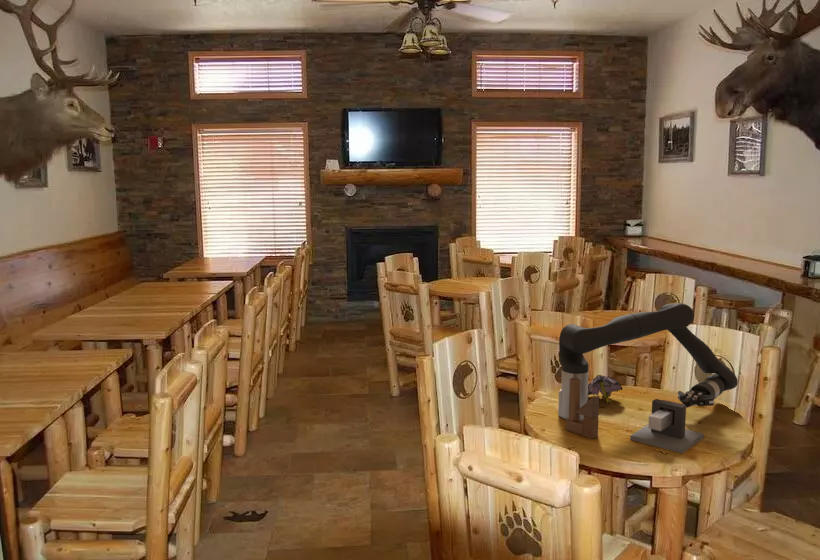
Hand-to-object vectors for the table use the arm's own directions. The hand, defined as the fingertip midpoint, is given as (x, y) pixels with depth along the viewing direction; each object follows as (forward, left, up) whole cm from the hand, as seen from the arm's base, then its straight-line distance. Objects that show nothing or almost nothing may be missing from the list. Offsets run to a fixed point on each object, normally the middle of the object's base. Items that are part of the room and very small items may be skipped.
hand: (685, 404), depth 231 cm
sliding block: (0, -17, -4) cm, 17 cm away
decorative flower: (-34, +6, -8) cm, 36 cm away
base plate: (0, -14, -8) cm, 16 cm away
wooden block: (-23, -28, -8) cm, 37 cm away
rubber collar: (0, -13, -7) cm, 15 cm away
